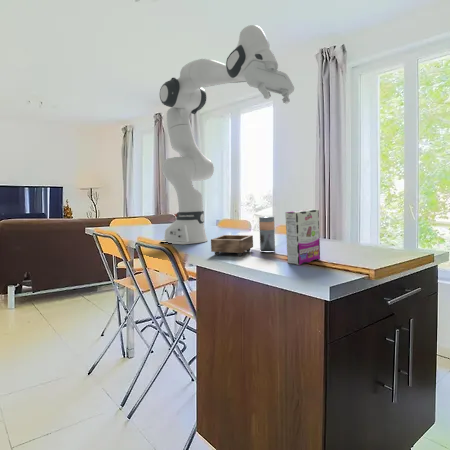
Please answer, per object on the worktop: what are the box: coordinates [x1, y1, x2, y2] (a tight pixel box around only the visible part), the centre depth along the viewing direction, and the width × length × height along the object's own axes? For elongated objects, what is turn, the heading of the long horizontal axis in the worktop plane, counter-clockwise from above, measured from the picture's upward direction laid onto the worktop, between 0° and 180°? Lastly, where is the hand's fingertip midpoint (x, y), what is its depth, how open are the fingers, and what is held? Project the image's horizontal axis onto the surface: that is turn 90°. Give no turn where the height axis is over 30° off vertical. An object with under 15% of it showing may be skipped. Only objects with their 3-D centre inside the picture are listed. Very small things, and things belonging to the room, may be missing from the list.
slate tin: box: [258, 216, 276, 252], centre depth 133 cm, size 6×6×13 cm
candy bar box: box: [285, 208, 321, 266], centre depth 114 cm, size 11×5×16 cm, turn 129°
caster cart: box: [210, 234, 254, 257], centre depth 134 cm, size 12×12×6 cm
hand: (277, 100), depth 119 cm, fingers open, 8 cm apart
